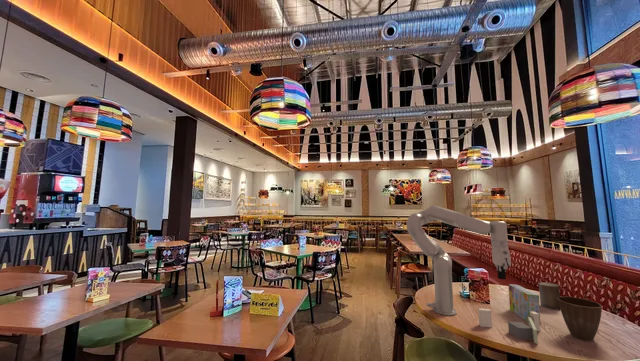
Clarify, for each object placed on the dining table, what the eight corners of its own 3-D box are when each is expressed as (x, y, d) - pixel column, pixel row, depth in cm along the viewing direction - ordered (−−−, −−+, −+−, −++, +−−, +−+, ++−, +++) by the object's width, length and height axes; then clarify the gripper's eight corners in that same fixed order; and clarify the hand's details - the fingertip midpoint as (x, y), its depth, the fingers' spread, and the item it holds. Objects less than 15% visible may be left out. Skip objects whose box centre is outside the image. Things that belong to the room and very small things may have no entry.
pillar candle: (566, 310, 155) (563, 284, 157) (549, 309, 155) (546, 283, 157) (551, 304, 165) (549, 280, 167) (536, 304, 165) (534, 279, 167)
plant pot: (614, 343, 116) (610, 305, 118) (592, 347, 112) (588, 308, 114) (573, 328, 130) (570, 295, 132) (552, 332, 126) (549, 297, 128)
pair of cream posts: (481, 327, 131) (480, 310, 132) (478, 324, 134) (478, 308, 135) (540, 331, 127) (539, 314, 128) (536, 328, 130) (534, 311, 131)
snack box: (542, 325, 134) (539, 295, 135) (529, 324, 135) (527, 294, 137) (519, 310, 154) (517, 284, 156) (509, 309, 155) (507, 283, 157)
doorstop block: (519, 339, 119) (518, 327, 119) (508, 332, 125) (507, 321, 126) (532, 339, 118) (531, 328, 119) (521, 332, 125) (520, 321, 126)
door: (538, 343, 114) (537, 329, 114) (533, 342, 115) (532, 328, 115) (532, 328, 129) (531, 315, 130) (528, 327, 130) (527, 315, 131)
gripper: (515, 245, 134) (517, 282, 132) (499, 242, 149) (501, 275, 146) (499, 245, 135) (501, 282, 133) (485, 242, 150) (487, 275, 147)
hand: (501, 278), depth 140 cm, fingers closed
